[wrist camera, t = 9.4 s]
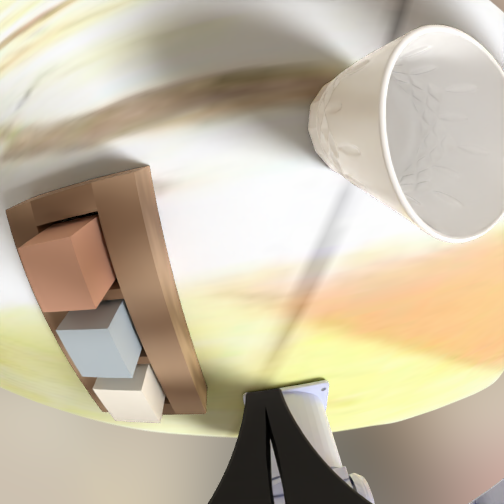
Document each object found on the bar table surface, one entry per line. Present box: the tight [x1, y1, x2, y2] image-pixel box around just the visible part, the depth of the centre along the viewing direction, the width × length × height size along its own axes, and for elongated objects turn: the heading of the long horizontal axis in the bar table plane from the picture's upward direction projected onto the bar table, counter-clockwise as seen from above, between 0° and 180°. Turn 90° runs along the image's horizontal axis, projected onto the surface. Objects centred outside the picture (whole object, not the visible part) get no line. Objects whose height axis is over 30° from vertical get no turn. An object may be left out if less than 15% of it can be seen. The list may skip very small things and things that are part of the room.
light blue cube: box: [56, 299, 143, 378], centre depth 16 cm, size 4×4×4 cm
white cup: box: [308, 25, 504, 243], centre depth 11 cm, size 8×8×10 cm
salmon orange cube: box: [18, 214, 117, 312], centre depth 14 cm, size 4×4×4 cm
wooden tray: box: [6, 166, 207, 415], centre depth 18 cm, size 19×10×3 cm, turn 6°
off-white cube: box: [93, 364, 166, 423], centre depth 19 cm, size 4×4×4 cm
